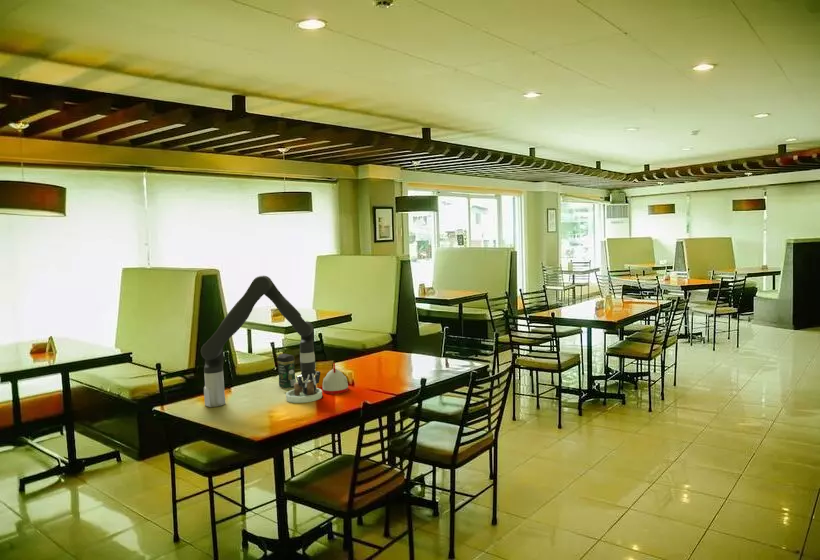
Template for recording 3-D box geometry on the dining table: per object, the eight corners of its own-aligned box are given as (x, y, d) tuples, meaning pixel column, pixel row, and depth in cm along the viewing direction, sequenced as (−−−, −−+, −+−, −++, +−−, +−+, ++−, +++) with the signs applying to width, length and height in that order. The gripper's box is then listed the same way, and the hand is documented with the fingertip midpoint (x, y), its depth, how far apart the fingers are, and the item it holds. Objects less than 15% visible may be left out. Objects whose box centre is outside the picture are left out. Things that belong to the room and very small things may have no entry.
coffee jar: (276, 386, 322) (274, 354, 320) (288, 383, 328) (286, 352, 326) (287, 389, 315) (284, 356, 314) (298, 386, 321) (296, 353, 320)
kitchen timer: (347, 386, 316) (346, 359, 315) (348, 392, 302) (347, 365, 301) (322, 388, 314) (321, 361, 313) (322, 395, 300) (321, 367, 299)
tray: (299, 405, 283) (299, 399, 283) (279, 398, 296) (279, 393, 296) (329, 396, 296) (328, 391, 296) (308, 391, 309) (308, 385, 309)
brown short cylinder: (308, 395, 289) (308, 383, 289) (303, 394, 292) (303, 382, 292) (315, 393, 292) (315, 382, 292) (310, 392, 295) (310, 380, 295)
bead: (297, 395, 297) (296, 384, 296) (292, 394, 300) (292, 383, 299) (304, 394, 300) (304, 383, 299) (300, 392, 303) (299, 381, 302)
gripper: (300, 364, 283) (302, 397, 285) (323, 358, 293) (325, 391, 295) (291, 362, 289) (293, 395, 290) (314, 357, 299) (316, 389, 300)
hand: (309, 393), depth 292 cm, fingers closed on brown short cylinder, 4 cm apart
